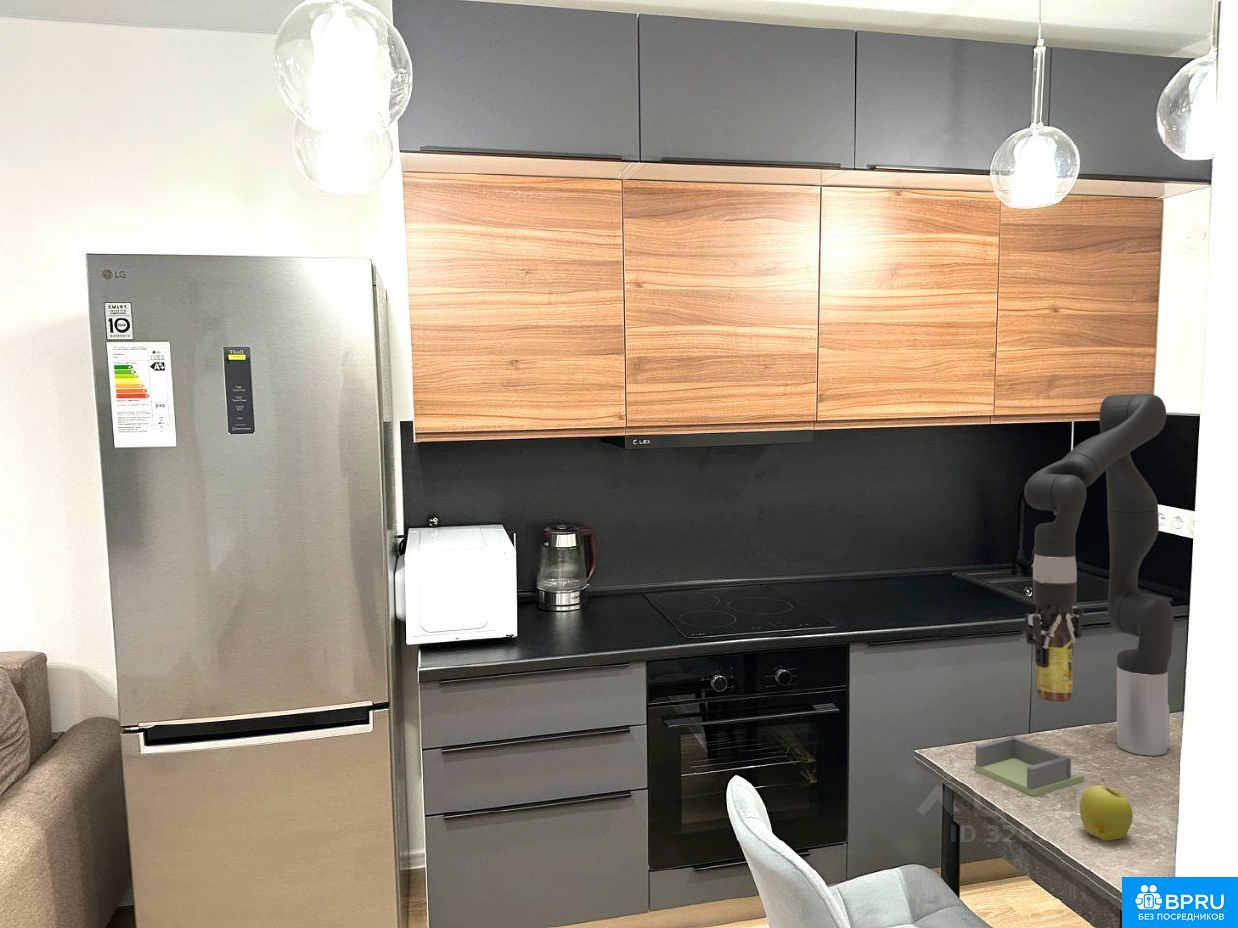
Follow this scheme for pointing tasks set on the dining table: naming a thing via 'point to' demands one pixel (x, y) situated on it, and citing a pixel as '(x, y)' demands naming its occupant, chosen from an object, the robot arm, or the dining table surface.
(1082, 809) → the apple
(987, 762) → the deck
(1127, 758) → the dining table surface
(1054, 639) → the sauce bottle
